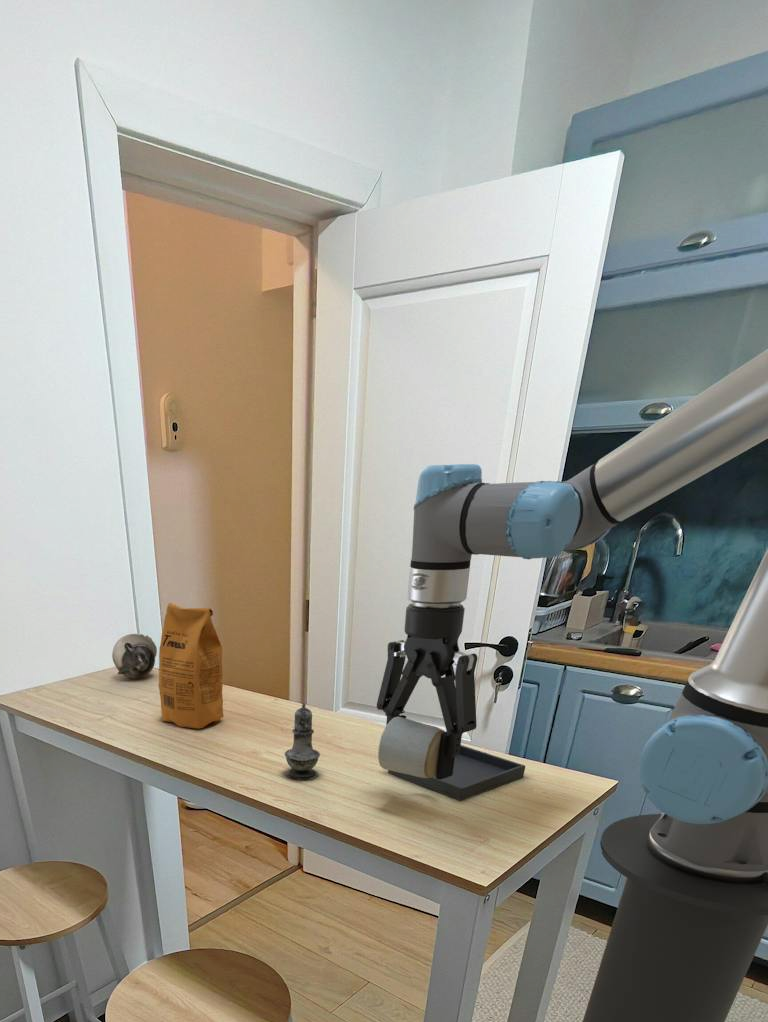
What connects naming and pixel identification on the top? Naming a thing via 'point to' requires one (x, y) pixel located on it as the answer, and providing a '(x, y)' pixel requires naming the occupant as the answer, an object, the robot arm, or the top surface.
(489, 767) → the tray
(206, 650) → the coffee package
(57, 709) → the top surface
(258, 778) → the top surface
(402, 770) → the ceramic mug
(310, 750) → the dark chess piece
